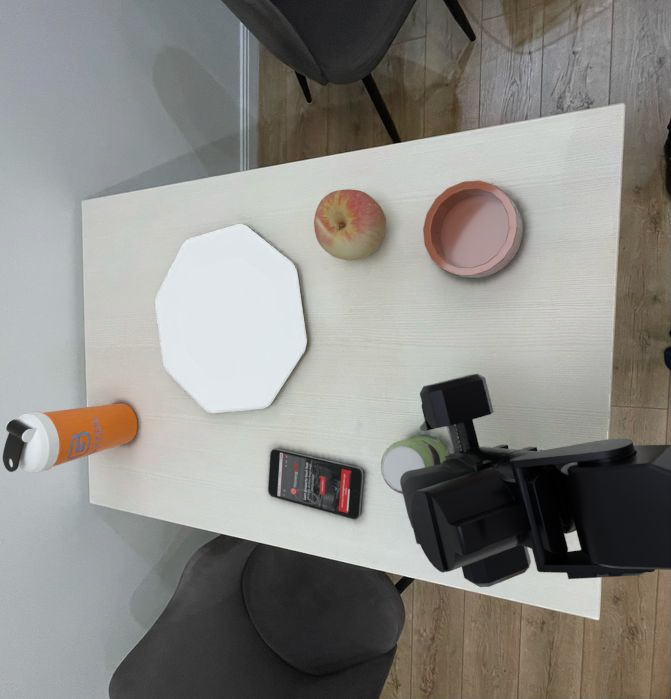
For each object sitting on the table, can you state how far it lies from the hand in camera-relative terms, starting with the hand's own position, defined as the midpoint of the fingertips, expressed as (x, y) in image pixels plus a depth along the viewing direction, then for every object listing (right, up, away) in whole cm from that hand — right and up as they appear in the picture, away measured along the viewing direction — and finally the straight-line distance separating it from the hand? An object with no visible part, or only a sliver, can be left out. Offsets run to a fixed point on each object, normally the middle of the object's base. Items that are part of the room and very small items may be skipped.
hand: (433, 469), depth 58 cm
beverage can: (+2, 0, +11) cm, 11 cm away
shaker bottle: (-48, 0, +37) cm, 60 cm away
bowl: (+6, +27, +7) cm, 29 cm away
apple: (-7, +29, +14) cm, 33 cm away
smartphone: (-14, -6, +19) cm, 24 cm away
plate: (-27, +17, +25) cm, 40 cm away
